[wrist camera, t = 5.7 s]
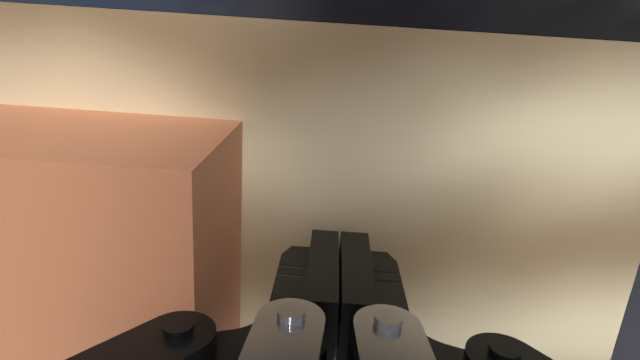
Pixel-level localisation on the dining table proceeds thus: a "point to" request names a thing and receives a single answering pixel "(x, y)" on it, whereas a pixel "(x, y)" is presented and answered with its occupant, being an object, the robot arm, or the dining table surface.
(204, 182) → the carton
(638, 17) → the dining table surface
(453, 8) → the dining table surface
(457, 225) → the board
